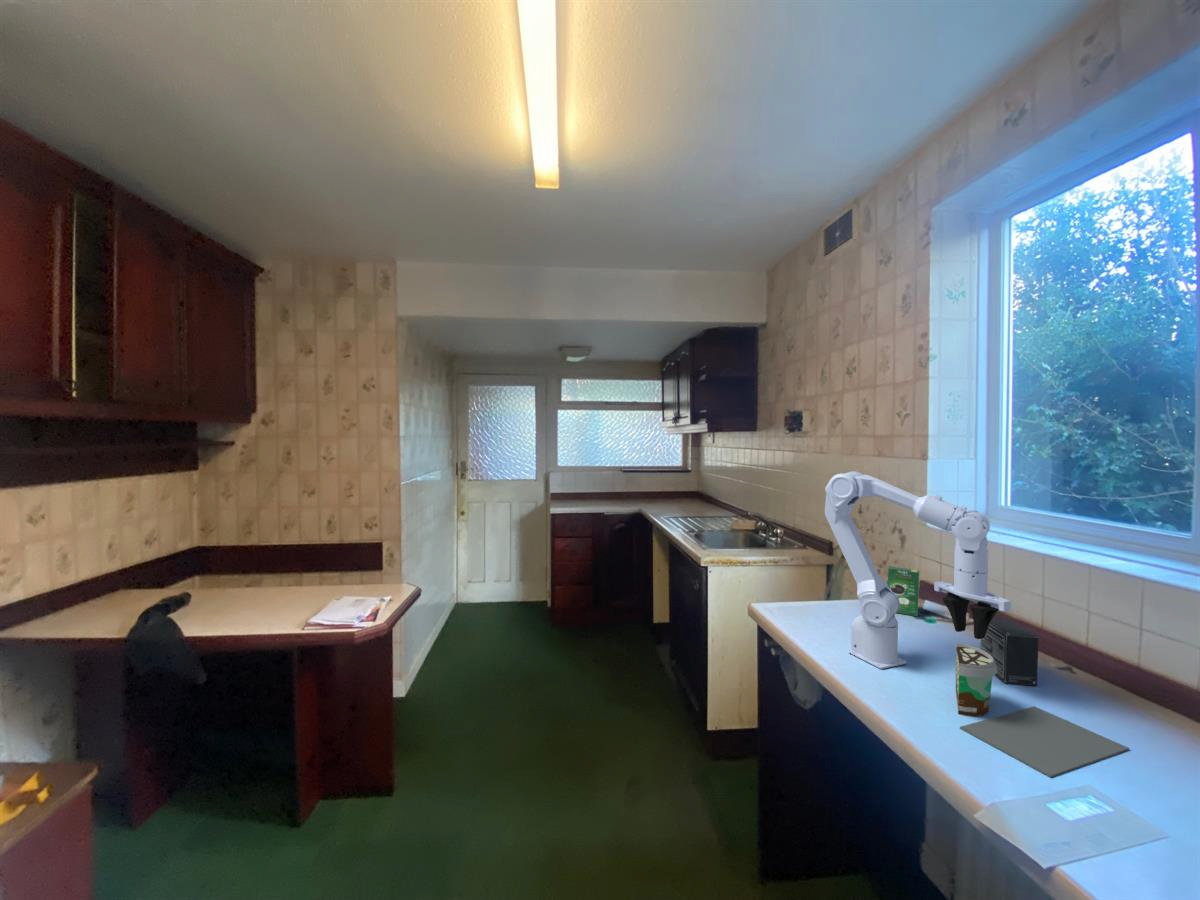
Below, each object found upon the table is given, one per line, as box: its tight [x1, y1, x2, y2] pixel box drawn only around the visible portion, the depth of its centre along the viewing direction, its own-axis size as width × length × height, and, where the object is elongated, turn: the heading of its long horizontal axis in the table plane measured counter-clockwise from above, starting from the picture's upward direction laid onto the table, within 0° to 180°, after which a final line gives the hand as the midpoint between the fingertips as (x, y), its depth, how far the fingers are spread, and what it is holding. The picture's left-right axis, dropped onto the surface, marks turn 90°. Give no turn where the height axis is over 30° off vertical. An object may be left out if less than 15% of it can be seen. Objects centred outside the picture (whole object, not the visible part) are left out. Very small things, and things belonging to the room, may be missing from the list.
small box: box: [980, 618, 1040, 687], centre depth 112 cm, size 11×6×10 cm, turn 168°
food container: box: [955, 642, 997, 717], centre depth 99 cm, size 12×6×10 cm, turn 148°
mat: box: [959, 705, 1130, 779], centre depth 89 cm, size 14×20×1 cm
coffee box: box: [887, 566, 920, 617], centre depth 150 cm, size 8×3×13 cm, turn 56°
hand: (969, 634), depth 108 cm, fingers open, 3 cm apart
